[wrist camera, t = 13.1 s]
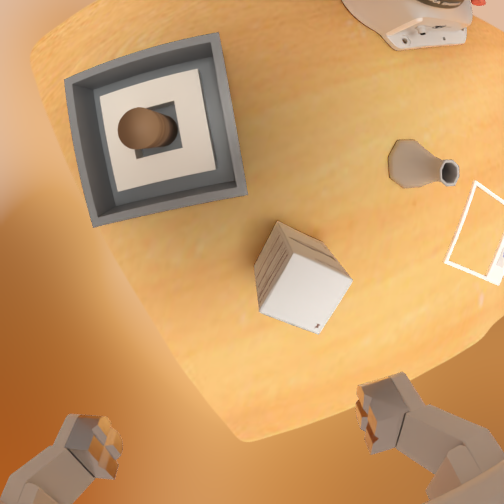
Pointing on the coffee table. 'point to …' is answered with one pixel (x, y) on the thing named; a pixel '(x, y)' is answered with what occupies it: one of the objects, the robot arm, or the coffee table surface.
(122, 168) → the bin
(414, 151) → the flask
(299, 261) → the supplement box
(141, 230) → the coffee table surface
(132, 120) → the peg
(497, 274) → the photo frame
